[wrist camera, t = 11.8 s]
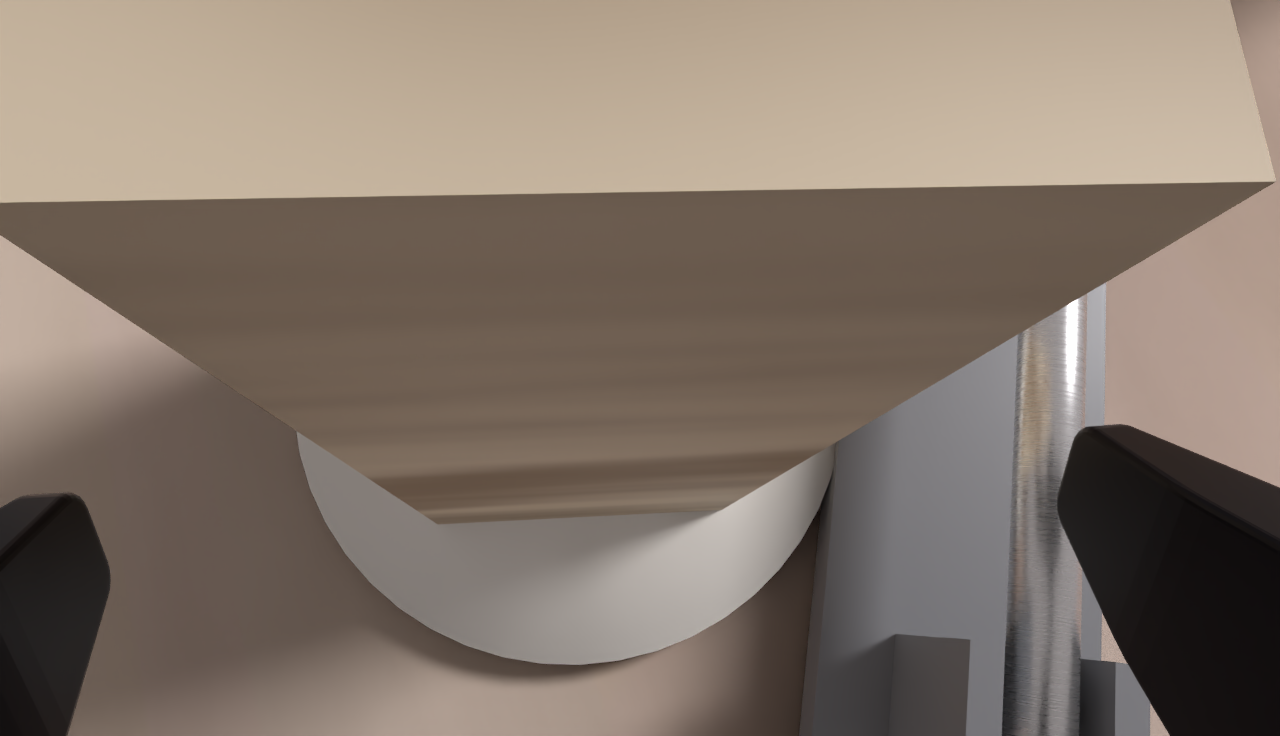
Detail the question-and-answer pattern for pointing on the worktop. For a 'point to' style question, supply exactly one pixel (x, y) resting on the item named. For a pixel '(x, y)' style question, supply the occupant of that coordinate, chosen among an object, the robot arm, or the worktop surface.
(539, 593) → the coaster
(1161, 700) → the robot arm
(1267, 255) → the worktop surface
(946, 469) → the bar stand
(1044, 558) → the steel bar
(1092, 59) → the beech block
